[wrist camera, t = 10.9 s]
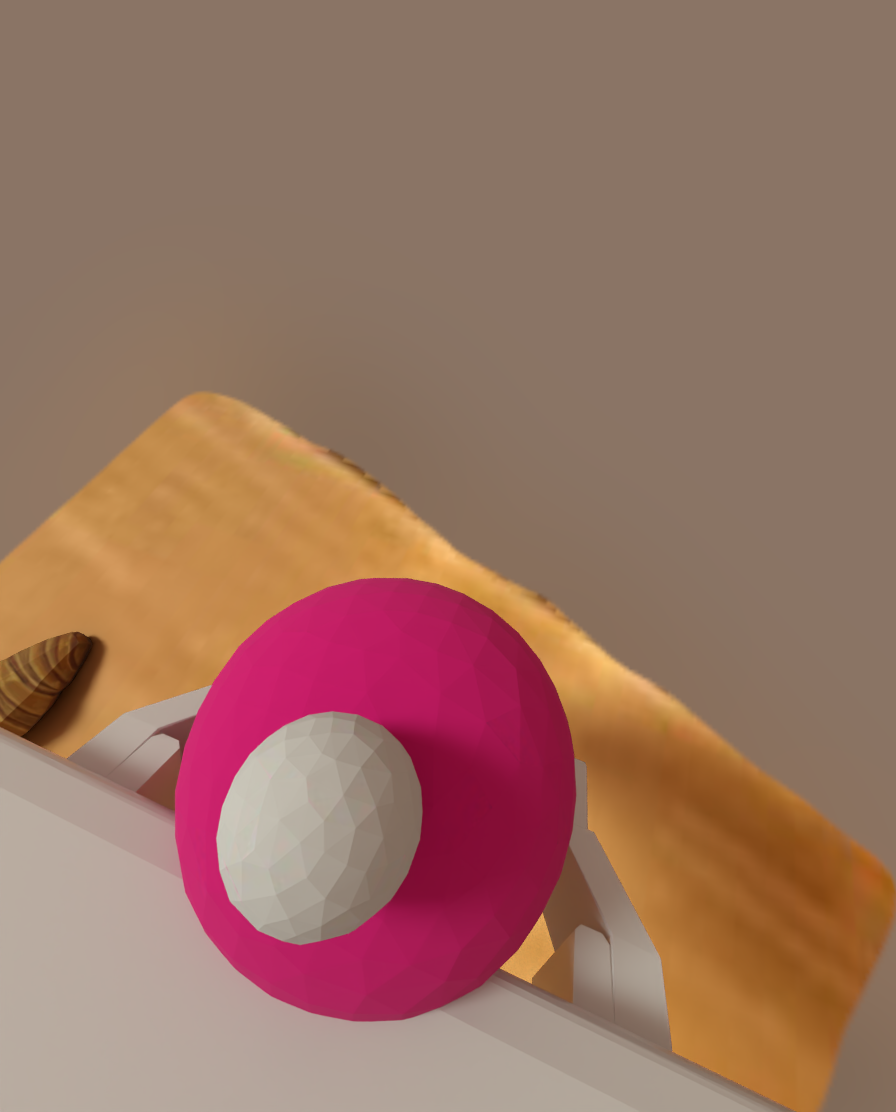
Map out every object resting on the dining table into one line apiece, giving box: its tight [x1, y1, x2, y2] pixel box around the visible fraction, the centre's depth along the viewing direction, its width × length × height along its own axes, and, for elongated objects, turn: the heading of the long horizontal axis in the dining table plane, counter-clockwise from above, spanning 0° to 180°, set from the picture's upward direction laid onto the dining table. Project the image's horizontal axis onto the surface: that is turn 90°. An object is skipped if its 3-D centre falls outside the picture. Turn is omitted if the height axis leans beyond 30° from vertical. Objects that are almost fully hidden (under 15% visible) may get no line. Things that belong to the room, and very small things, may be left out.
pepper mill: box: [175, 578, 576, 1022], centre depth 13 cm, size 7×7×20 cm
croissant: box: [0, 632, 92, 737], centre depth 33 cm, size 14×7×5 cm, turn 139°
